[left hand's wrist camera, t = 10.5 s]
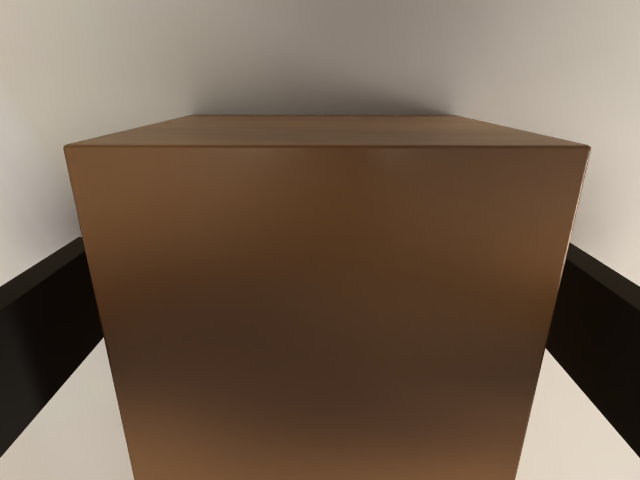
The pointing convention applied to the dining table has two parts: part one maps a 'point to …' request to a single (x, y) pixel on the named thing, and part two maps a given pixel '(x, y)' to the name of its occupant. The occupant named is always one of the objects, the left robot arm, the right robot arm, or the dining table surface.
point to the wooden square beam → (325, 291)
